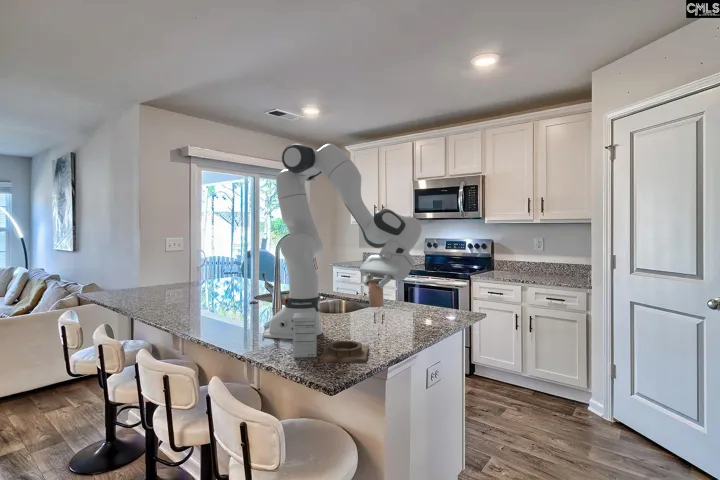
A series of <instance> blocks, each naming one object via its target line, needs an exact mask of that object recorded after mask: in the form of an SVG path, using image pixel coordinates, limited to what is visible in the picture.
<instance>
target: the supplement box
mask: <svg viewBox="0 0 720 480" xmlns="http://www.w3.org/2000/svg"><path fill="white" fill-rule="evenodd" d="M317 336H318V335H317V331H316V313H294V316H293V339H292V345H293V348H292V350H293V352H292V353H293V358H295V359H297V358H316V357H317V353H318V343H317V342H318V339H317Z"/></svg>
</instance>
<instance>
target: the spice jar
mask: <svg viewBox="0 0 720 480" xmlns="http://www.w3.org/2000/svg"><path fill="white" fill-rule="evenodd" d="M382 279H383V278H373V279H368V285H369V286H368V302H369V303H368V304H369V306H368V307H370V308H381V307H384V306H385V304H384V287H383V288H382V289H381V288H378V287H377V286H376V284H377V283H378V281H381V280H382Z"/></svg>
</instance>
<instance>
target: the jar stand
mask: <svg viewBox="0 0 720 480" xmlns="http://www.w3.org/2000/svg"><path fill="white" fill-rule="evenodd" d="M369 348H370V347H369V345H363V344H362V343H361V342H358V341H355V340H338V341H334V342H330V343H329V344H326V347H325V348H324V349H323V351H322V353H321V355H320V357H319V361H318V362H319V363H364V364H365V363H366V362H367V358H368V354H369Z"/></svg>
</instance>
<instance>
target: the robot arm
mask: <svg viewBox="0 0 720 480" xmlns="http://www.w3.org/2000/svg"><path fill="white" fill-rule="evenodd" d="M281 162H282V164H283V166H284V167H285V169H283V170H281V171H280V172H278V173H277V176H276V183H275V185H276V193H277V201H278V205H279V209H280V214H281V218H282V221H283V224H285V225H286V228H287V230H288V233H289V235H287V236H286V237H285V238H284V239H283V240H282V242H281V245H280V251H281V254H282V256H283V258H284V261H285V264H286V270H287V273H288V274H287V275H288V284H289V285H288V287H289V290H288V291H289V295H288V296H286V297H285V299H284V300H283V304H284V307H283V308H281V309H280V310H279V311H278V312H277V313H275V314H274V315H273V316H272V317H271V319H270V323H269V326H268V327H269V328H266V330H264V331H263V337H264V338H270V339H286V340H293V316H294V313H316V331H317V336H320V335H322V334H323V333H324V331H323V328H322V323H321V316H320V309H321V299H320V295H319V275H318V274H317V271H316V266H315V262H314V259H316V258H317V257H318V256H319V255H320V254H321V252H322V251H323V247H324V244H323V243H324V242H323V240H322V239H321V236H320V235H319V232H318V229H317V225H316V224H315V221H314V219H313V217H312V213H311V209H310V204H309V199H308V195H307V190H306V185H305V184H306V181H307V182H309V181H311V180H313V179H314V178H316V177H318V176H320V175H321V174H323V175H324V176H325V177H326V178H327V180H328V181H329V183H330V184H331V185H332V186H333V188H334V189H335V191H336V192H337V193H338V195H339V196H340V198H341V200H342V202H343V203H344V205H345V207H346V208H347V210H348V212H349V213H350V215H352V217H353V219H354V220H355V222H356V223H357V224H358V226H359V228H360V229H361V233H362V235H363V238H364V241H365V242H366V244H368V245H369V246H370V247H372V248H375V249H380V252H379V254H377V253H375V254H373V255H369V256H368V257H367V258H366V260H364V262H363V263H362V264H361V265H360V267H359V272H360V273H361V274H362V276H364V277H365V280H364V282H363V284H364V286H365V287H369V285H368V279H378V278H379V279H382V280H381V281H378V283H377V284H376V286H377V287H378V288H381V289H382V288H383V289H384V286H385V285H387V284H388V283H390V281H400V282H403V281H404V280H405V279H407V278H408V276H409V274H410V272H411V270H412V267H414V265H415V264H416V261H415V259H414V258H413V256H412V255H411V254H410V251H411V250H412V249H413V248H415V245H416V244H417V243H418V241H419V240H420V237H421V234H422V226H421V225H422V224H421V223H420V221H418V220H417V218H415V217H413V216H410V215H409V216H408V215H407V216H405V215H400V214H398V213H396V212H394V211H393V210H392V209H389V208H382V209H379V210H378V211H376V212H375V213H374V215H373V214H372V213H371V211H370V210H369V208H368V207H367V206H366V205H365V203H364V201H363V199H362V175H361V173H360V171H359V169H358V167H357V166H356V164H355V163H354V161H352V159H351V158H350V157H349V156H348V155H347V154H346V153H345V152H344V151H343V150H341V148H339V147H338V146H336V145H335V144H332V143H327V144H324V145H323V146H321V147H320V148H319V149H315V148H313V147H311V146H306V145H305V144H301V143H293V144H289V145H288V146H286V147H285V148H284V150H283V152H282V154H281Z"/></svg>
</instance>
